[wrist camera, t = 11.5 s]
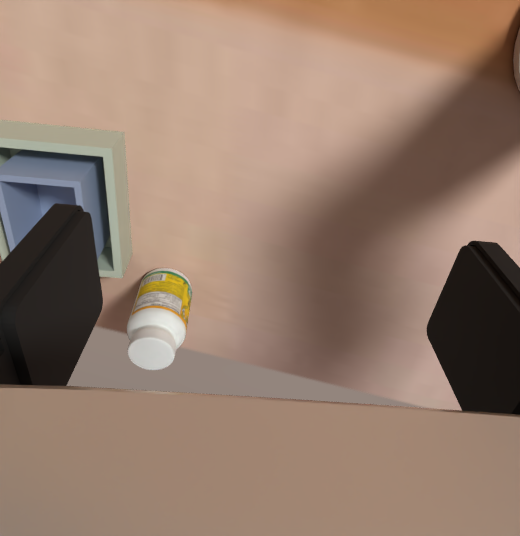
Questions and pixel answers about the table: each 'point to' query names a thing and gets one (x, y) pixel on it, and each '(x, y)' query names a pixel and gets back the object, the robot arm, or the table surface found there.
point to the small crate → (51, 191)
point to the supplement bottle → (159, 318)
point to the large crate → (115, 173)
